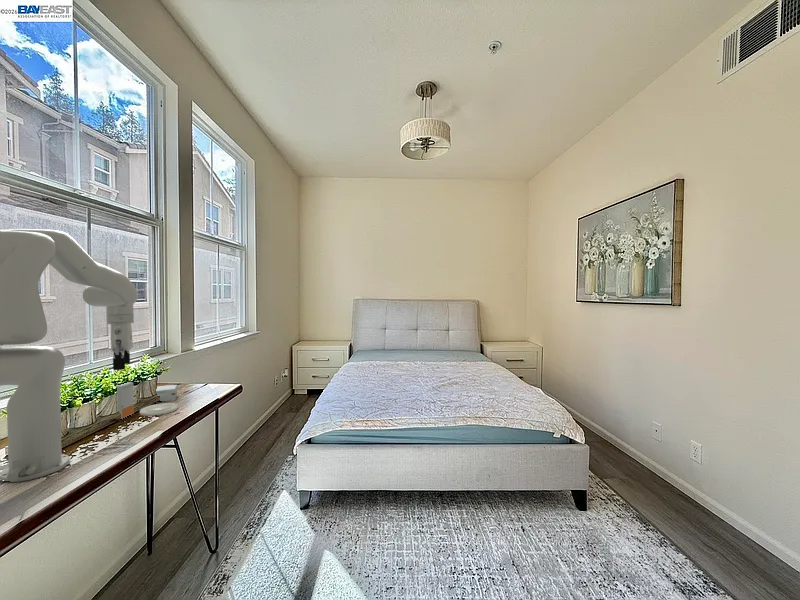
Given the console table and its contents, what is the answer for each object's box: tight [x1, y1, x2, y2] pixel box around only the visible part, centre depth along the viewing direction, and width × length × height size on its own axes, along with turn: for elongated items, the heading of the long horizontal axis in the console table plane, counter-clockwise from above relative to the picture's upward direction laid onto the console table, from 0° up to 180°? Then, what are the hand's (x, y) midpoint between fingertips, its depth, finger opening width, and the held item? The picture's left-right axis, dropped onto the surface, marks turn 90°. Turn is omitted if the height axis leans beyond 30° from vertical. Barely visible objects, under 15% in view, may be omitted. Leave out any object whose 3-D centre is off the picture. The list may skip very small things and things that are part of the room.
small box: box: [156, 384, 178, 403], centre depth 150 cm, size 8×8×5 cm
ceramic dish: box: [139, 402, 179, 417], centre depth 136 cm, size 12×12×1 cm
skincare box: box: [116, 381, 134, 420], centre depth 129 cm, size 6×4×12 cm
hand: (121, 366), depth 129 cm, fingers open, 9 cm apart
